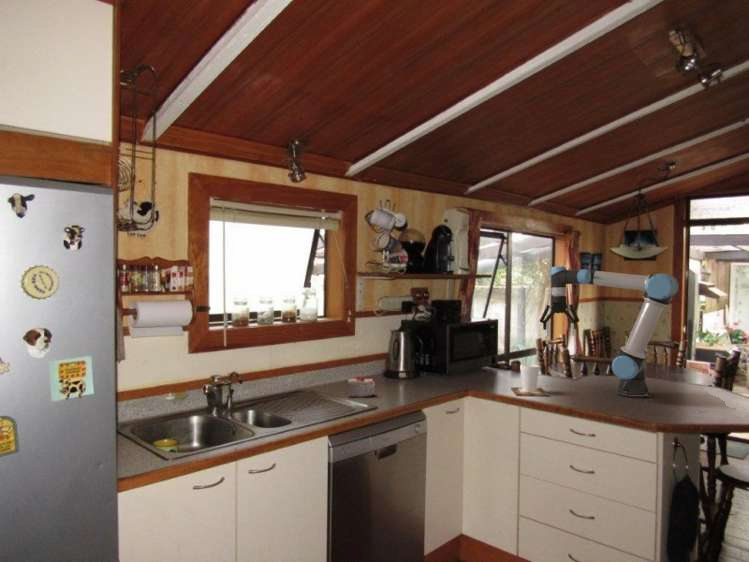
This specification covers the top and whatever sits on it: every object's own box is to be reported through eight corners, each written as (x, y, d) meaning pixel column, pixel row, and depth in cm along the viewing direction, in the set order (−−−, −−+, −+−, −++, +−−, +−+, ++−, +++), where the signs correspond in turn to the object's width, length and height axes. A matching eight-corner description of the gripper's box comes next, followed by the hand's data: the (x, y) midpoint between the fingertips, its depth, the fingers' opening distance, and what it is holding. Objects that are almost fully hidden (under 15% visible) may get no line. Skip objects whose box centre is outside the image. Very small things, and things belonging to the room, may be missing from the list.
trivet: (541, 389, 287) (541, 387, 287) (549, 396, 271) (549, 394, 271) (510, 389, 288) (510, 386, 288) (516, 395, 272) (516, 393, 272)
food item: (372, 393, 275) (372, 374, 275) (375, 397, 268) (375, 377, 267) (346, 394, 274) (346, 375, 273) (347, 398, 266) (347, 378, 266)
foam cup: (534, 393, 273) (535, 367, 272) (517, 390, 278) (517, 365, 278) (541, 390, 280) (541, 365, 280) (524, 387, 286) (524, 363, 286)
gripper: (580, 294, 288) (580, 334, 288) (533, 295, 289) (533, 335, 289) (585, 295, 281) (586, 336, 281) (537, 296, 281) (537, 336, 281)
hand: (559, 335), depth 285 cm, fingers open, 13 cm apart
